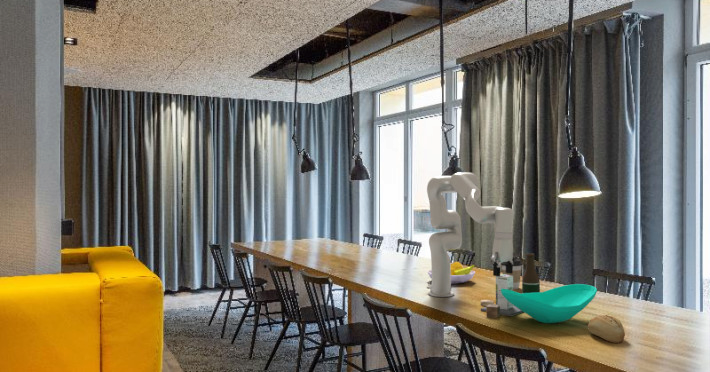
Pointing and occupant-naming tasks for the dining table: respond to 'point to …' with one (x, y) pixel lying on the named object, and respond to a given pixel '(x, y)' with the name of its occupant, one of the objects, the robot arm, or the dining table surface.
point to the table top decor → (553, 302)
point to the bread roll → (607, 328)
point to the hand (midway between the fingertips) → (502, 274)
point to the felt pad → (507, 311)
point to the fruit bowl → (458, 273)
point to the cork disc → (486, 302)
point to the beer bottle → (530, 276)
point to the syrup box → (503, 283)
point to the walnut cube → (493, 311)
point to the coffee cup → (514, 272)
